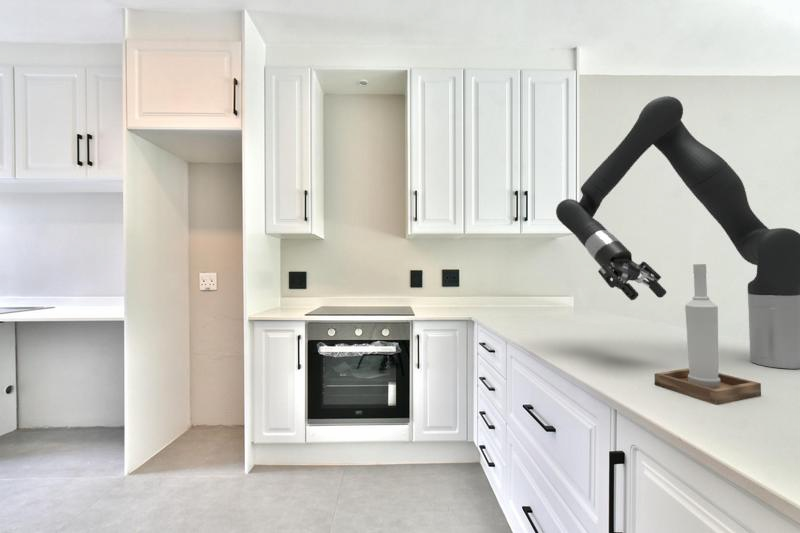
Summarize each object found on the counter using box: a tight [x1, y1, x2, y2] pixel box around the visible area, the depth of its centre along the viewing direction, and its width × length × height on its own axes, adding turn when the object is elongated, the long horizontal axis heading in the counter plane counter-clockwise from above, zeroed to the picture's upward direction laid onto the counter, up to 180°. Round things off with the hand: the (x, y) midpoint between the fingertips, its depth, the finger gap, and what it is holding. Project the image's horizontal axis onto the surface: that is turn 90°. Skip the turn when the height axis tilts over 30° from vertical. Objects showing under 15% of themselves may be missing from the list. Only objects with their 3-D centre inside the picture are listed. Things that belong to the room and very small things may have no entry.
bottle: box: [684, 263, 720, 389], centre depth 74 cm, size 5×5×25 cm
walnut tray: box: [654, 367, 762, 405], centre depth 74 cm, size 12×12×2 cm
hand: (649, 296), depth 86 cm, fingers open, 8 cm apart
